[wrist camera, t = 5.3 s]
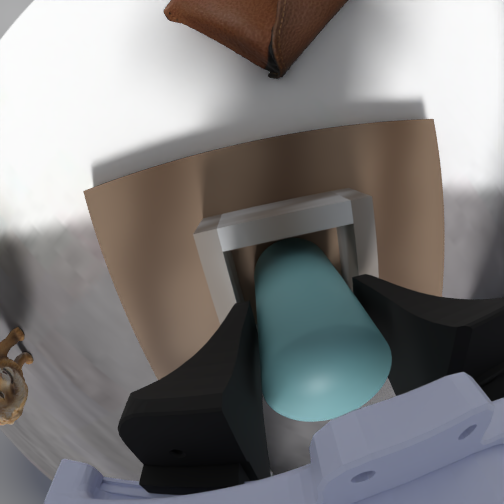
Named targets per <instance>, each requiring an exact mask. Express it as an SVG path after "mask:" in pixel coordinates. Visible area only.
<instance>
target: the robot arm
mask: <svg viewBox="0 0 504 504" xmlns="http://www.w3.org/2000/svg"><path fill="white" fill-rule="evenodd" d="M352 282H353V293H354V295H355V296H356V298H357V299H358V301H359V302H360V303H361V305H362V306H363V308H364V309H365V311H366V312H367V313H368V315H369V316H370V318H371V319H372V321H373V322H374V324H375V325H376V327H377V328H378V329H379V331H380V332H381V334H382V335H383V337H384V338H385V340H386V341H387V343H388V345H389V347H390V350H391V356H392V363H391V369H390V372H389V375H388V379H389V381H390V383H391V385H392V387H393V390H394V392H395V394H396V396H395V397H393V398H390V399H387V400H384V401H381V402H378V403H375V404H372V405H369V406H366V407H362V408H359V409H356V410H353V411H350V412H348V413H346V414H344V415H341V416H339V417H337V418H334V419H332V420H331V421H330V422H328V423H327V424H326V425H325V426H324V427H322V428H321V429H320V430H319V431H317V432H316V433H315V434H314V435H313V438H312V441H311V444H310V447H309V451H310V457H311V463H310V464H307V465H305V466H302V467H299V468H296V469H293V470H290V471H287V472H284V473H281V474H278V475H274V476H271V473H270V466H269V459H268V451H267V443H266V435H265V427H264V418H263V406H262V383H261V369H260V354H259V339H258V331H257V327H256V323H255V319H254V316H253V312H252V308H251V304H250V300H249V301H244V302H239V303H235V304H234V306H233V307H232V308H231V310H230V312H229V313H228V315H227V316H226V318H225V319H224V321H223V322H222V324H221V325H220V327H219V328H218V329H217V331H216V332H215V333H214V334H213V336H212V337H211V338H210V339H209V341H208V342H207V343H206V344H205V345H204V346H203V347H202V348H201V349H200V350H199V351H198V352H197V353H196V354H195V355H194V356H192V357H191V358H190V359H189V360H187V361H186V362H185V363H184V364H182V365H181V366H180V367H178V368H177V369H176V370H174V371H173V372H171V373H169V374H168V375H166V376H165V377H163V378H161V379H159V380H158V381H156V382H154V383H152V384H150V385H148V386H146V387H143V388H141V389H139V390H137V391H134V392H132V393H131V394H130V396H129V398H128V401H127V403H126V406H125V408H124V411H123V413H122V416H121V419H120V421H119V425H118V431H119V435H120V437H121V438H122V440H123V441H124V443H125V444H126V445H127V446H128V448H129V449H130V450H131V451H132V452H133V453H134V454H135V456H136V457H137V458H138V459H139V460H140V461H141V462H142V463H143V464H144V466H143V470H142V474H141V478H140V481H132V480H123V479H116V478H109V477H103V476H102V474H101V473H100V472H99V471H98V470H97V469H96V468H94V467H93V466H91V465H89V464H87V463H84V462H78V461H73V460H69V459H62V461H61V463H60V465H59V467H58V470H57V472H56V474H55V477H54V479H53V481H52V484H51V486H50V489H49V491H48V493H47V496H46V499H45V501H44V504H504V298H495V299H483V300H468V299H454V298H445V297H439V296H434V295H429V294H425V293H421V292H417V291H414V290H410V289H407V288H404V287H401V286H399V285H396V284H393V283H390V282H388V281H385V280H383V279H380V278H377V277H375V276H372V275H368V274H363V275H359V276H355V277H352Z"/></svg>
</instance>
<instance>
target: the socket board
mask: <svg viewBox="0 0 504 504" xmlns="http://www.w3.org/2000/svg"><path fill="white" fill-rule="evenodd" d="M83 192H84V195H85V199H86V203H87V206H88V210H89V213H90V216H91V220H92V223H93V226H94V229H95V233H96V236H97V239H98V242H99V245H100V248H101V251H102V254H103V256H104V259H105V262H106V265H107V267H108V270H109V273H110V275H111V278H112V281H113V283H114V286H115V288H116V291H117V293H118V296H119V298H120V301H121V303H122V305H123V308H124V310H125V312H126V315H127V317H128V319H129V322H130V324H131V326H132V328H133V330H134V333H135V335H136V337H137V339H138V341H139V343H140V345H141V347H142V349H143V351H144V353H145V356H146V358H147V359H148V361H149V363H150V365H151V367H152V369H153V371H154V373H155V375H156V377H157V379H158V380H159V379H161V378H163V377H165V376H166V375H168V374H169V373H171V372H173V371H174V370H176V369H177V368H178V367H180V366H181V365H182V364H184V363H185V362H186V361H187V360H189V359H190V358H191V357H192V356H194V355H195V354H196V353H197V352H198V351H199V350H200V349H201V348H202V347H203V346H204V345H205V344H206V343H207V342H208V341H209V339H210V338H211V337H212V336H213V334H214V333H215V332H216V331H217V329H218V328H219V327H220V325H221V324H222V322H223V321H224V319H225V318H226V316H227V315H228V313H229V312H230V310H231V308H232V307H233V306H234V304H235V303H239V302H244V301H249V300H250V304H251V308H252V312H253V316H254V319H255V323H256V327H257V331H258V325H257V310H256V296H255V281H254V271H255V266H256V263H257V261H258V259H259V257H260V256H261V254H262V253H263V252H264V251H265V250H266V249H267V248H268V247H269V246H271V245H272V244H274V243H276V242H277V241H280V240H283V239H287V238H301V239H305V240H308V241H310V242H312V243H314V244H316V245H317V246H318V247H319V248H320V249H321V250H322V251H323V252H324V254H325V255H326V256H327V258H328V259H329V260H330V262H331V263H332V265H333V266H334V267H335V269H336V270H337V271H338V273H339V274H340V275H341V277H342V278H343V280H344V281H345V282H346V284H347V285H348V287H349V288H350V289H351V291H352V292H353V282H352V277H355V276H359V275H363V274H368V275H372V276H375V277H377V278H380V279H383V280H385V281H388V282H390V283H393V284H396V285H399V286H401V287H404V288H407V289H410V290H414V291H417V292H421V293H425V294H429V295H434V296H439V297H442V287H443V271H444V205H443V189H442V177H441V167H440V158H439V150H438V143H437V137H436V131H435V125H434V119H419V120H401V121H387V122H376V123H365V124H356V125H347V126H339V127H332V128H324V129H318V130H311V131H305V132H299V133H293V134H287V135H281V136H276V137H271V138H266V139H261V140H256V141H251V142H247V143H242V144H237V145H233V146H229V147H225V148H220V149H216V150H212V151H208V152H204V153H200V154H197V155H193V156H189V157H186V158H182V159H178V160H175V161H171V162H168V163H165V164H161V165H158V166H155V167H152V168H148V169H145V170H142V171H139V172H136V173H133V174H130V175H127V176H124V177H121V178H118V179H115V180H112V181H110V182H107V183H104V184H101V185H99V186H96V187H93V188H91V189H88V190H85V191H83Z"/></svg>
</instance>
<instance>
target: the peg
mask: <svg viewBox="0 0 504 504" xmlns="http://www.w3.org/2000/svg"><path fill="white" fill-rule="evenodd" d="M254 281H255V296H256V310H257V325H258V339H259V354H260V369H261V383H262V392H263V395H264V398H265V400H266V402H267V403H268V404H269V406H270V407H271V408H272V409H273V410H275V411H276V412H277V413H279V414H281V415H283V416H285V417H287V418H290V419H294V420H299V421H324V420H329V419H333V418H337V417H339V416H341V415H344V414H346V413H348V412H350V411H353V410H356V409H357V408H359V407H361V406H362V405H364V404H365V403H366V402H367V401H369V400H370V399H371V398H372V397H373V396H374V395H375V394H376V393H377V392H378V391H379V390H380V388H381V387H382V386H383V384H384V383H385V381H386V379H387V377H388V375H389V372H390V369H391V363H392V356H391V350H390V347H389V345H388V343H387V341H386V340H385V338H384V337H383V335H382V334H381V332H380V331H379V329H378V328H377V327H376V325H375V324H374V322H373V321H372V319H371V318H370V316H369V315H368V313H367V312H366V311H365V309H364V308H363V306H362V305H361V303H360V302H359V301H358V299H357V298H356V296H355V295H354V293H353V292H352V291H351V289H350V288H349V287H348V285H347V284H346V282H345V281H344V280H343V278H342V277H341V275H340V274H339V273H338V271H337V270H336V269H335V267H334V266H333V265H332V263H331V262H330V260H329V259H328V258H327V256H326V255H325V254H324V252H323V251H322V250H321V249H320V248H319V247H318V246H317V245H316V244H314V243H312V242H310V241H308V240H305V239H301V238H287V239H283V240H280V241H277V242H276V243H274V244H272V245H271V246H269V247H268V248H267V249H266V250H265V251H264V252H263V253H262V254H261V256H260V257H259V259H258V261H257V263H256V266H255V271H254Z"/></svg>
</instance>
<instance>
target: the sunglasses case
mask: <svg viewBox="0 0 504 504" xmlns="http://www.w3.org/2000/svg"><path fill="white" fill-rule="evenodd" d="M347 1H348V0H171V1H170V3H169V4H168V5H167V7H166V8H165V9H164V14H165V16H166V17H167V19H168V20H170V21H173V22H177V23H182V24H184V25H187V26H189V27H191V28H193V29H195V30H197V31H199V32H200V33H203V34H204V35H206V36H208V37H210V38H212V39H214V40H216V41H217V42H219V43H220V44H223V45H224V46H226V47H228V48H230V49H231V50H233V51H235V52H236V53H237V54H239V55H241V56H242V57H244V58H246V59H248V60H250V61H251V62H252V63H254V64H256V65H257V66H260V67H261V68H263V69H265V70H268V71H270V73H269V74H268V77H270V78H276V79H278V78H281V77H283V75H284V74H285V73H286V71H287V70H289V68H290V67H291V65H292V64H293V63H294V62H295V61H296V60H297V58H298V57H299V56H300V55H301V54H302V53H303V51H304V50H305V49H306V48H307V47H308V46H309V45H310V43H311V42H312V41H313V40H314V39H315V37H316V36H317V35H318V34H319V33H320V31H321V30H322V29H323V28H324V27H325V25H326V24H327V23H328V22H329V21H330V20H331V19H332V18H333V17H334V15H336V13H337V12H338V11H339V10H340V9H341V8H342V7H343V6H344V4H345V3H346V2H347Z"/></svg>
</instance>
